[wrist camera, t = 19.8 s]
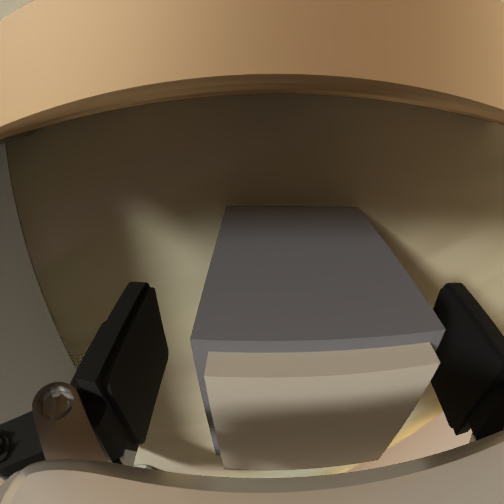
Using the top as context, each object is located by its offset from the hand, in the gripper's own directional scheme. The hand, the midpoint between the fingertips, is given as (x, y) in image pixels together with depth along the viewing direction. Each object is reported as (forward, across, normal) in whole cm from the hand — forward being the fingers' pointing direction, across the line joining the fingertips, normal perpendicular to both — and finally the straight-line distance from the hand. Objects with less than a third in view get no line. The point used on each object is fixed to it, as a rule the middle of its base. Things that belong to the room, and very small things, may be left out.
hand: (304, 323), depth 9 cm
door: (+3, +2, -7) cm, 8 cm away
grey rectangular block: (+4, 0, 0) cm, 4 cm away
